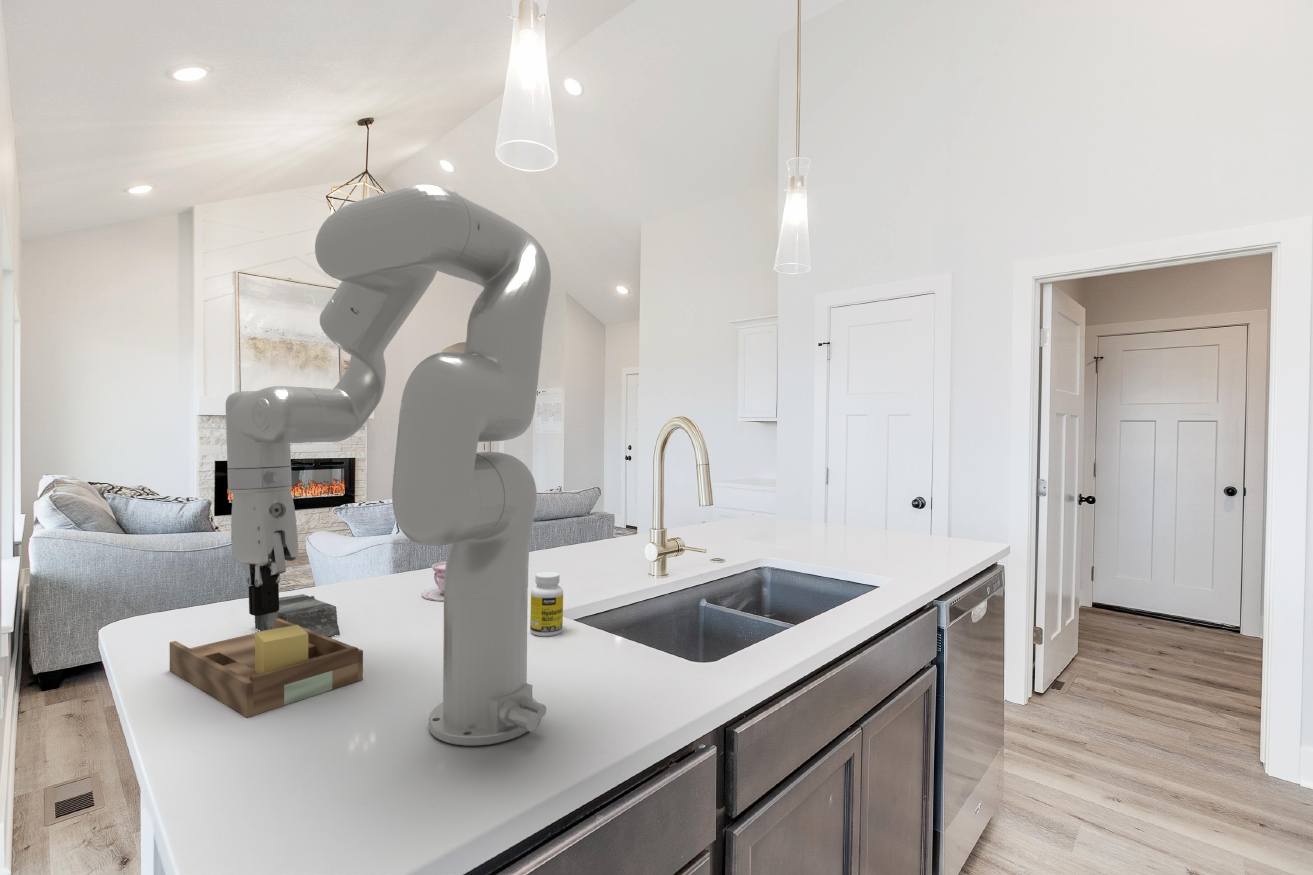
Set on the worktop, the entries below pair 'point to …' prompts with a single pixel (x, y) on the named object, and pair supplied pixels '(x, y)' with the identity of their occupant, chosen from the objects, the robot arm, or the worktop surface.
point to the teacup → (436, 591)
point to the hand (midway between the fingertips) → (264, 612)
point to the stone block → (303, 615)
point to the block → (280, 647)
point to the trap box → (239, 686)
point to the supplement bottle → (546, 605)
